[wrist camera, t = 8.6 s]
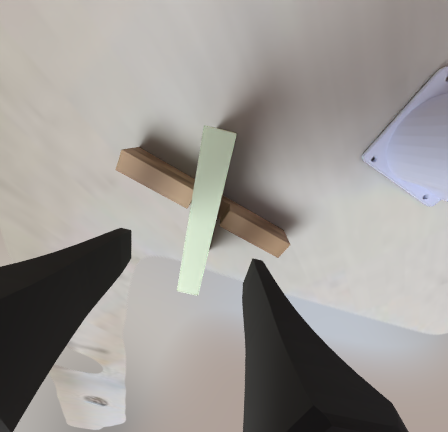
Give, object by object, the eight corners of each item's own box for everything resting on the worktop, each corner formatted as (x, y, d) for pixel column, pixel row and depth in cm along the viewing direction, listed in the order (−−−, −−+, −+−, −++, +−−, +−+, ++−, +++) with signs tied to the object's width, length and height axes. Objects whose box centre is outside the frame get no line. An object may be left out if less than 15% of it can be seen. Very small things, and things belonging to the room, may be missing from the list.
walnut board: (283, 230, 21) (290, 244, 18) (273, 242, 22) (278, 257, 19) (138, 147, 18) (121, 149, 15) (133, 164, 19) (115, 170, 16)
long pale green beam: (216, 127, 17) (204, 125, 11) (236, 133, 17) (236, 134, 11) (193, 247, 23) (176, 290, 17) (208, 250, 23) (198, 295, 17)
